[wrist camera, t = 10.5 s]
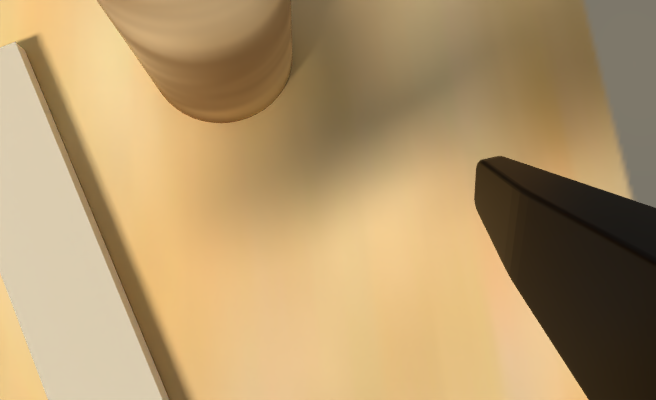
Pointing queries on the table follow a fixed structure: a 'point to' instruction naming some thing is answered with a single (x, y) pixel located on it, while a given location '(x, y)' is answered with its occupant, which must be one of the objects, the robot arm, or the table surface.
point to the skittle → (210, 52)
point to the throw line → (61, 258)
